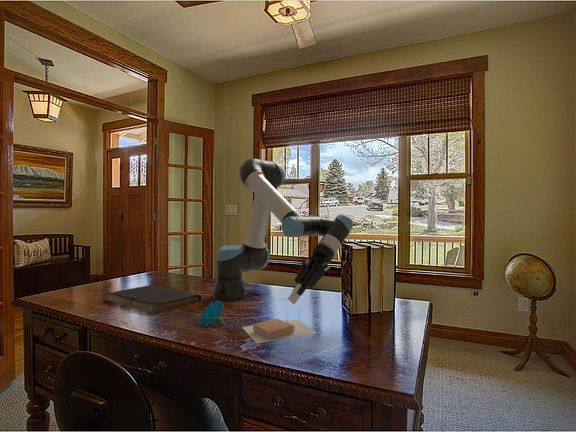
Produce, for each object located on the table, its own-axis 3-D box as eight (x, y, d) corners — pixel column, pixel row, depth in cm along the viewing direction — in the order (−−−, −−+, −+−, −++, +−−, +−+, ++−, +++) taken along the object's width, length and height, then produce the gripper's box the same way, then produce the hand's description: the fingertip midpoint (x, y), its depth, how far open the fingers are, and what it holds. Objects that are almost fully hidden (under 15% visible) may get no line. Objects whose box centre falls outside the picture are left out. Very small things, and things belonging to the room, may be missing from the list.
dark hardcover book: (106, 292, 142) (155, 283, 163) (106, 302, 142) (155, 291, 163) (152, 305, 124) (201, 293, 144) (152, 316, 124) (201, 302, 144)
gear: (193, 317, 117) (213, 295, 120) (204, 326, 120) (222, 304, 123) (207, 330, 108) (228, 306, 112) (218, 339, 111) (237, 315, 115)
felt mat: (241, 328, 111) (241, 327, 111) (297, 320, 120) (297, 319, 120) (256, 344, 97) (256, 343, 97) (317, 334, 106) (317, 333, 106)
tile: (277, 318, 113) (253, 324, 107) (294, 325, 106) (269, 332, 100) (277, 325, 113) (252, 331, 107) (294, 332, 106) (269, 340, 100)
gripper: (344, 258, 118) (309, 312, 108) (319, 253, 128) (285, 303, 118) (334, 244, 115) (297, 299, 104) (309, 241, 125) (273, 291, 115)
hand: (291, 301), depth 111 cm, fingers closed
